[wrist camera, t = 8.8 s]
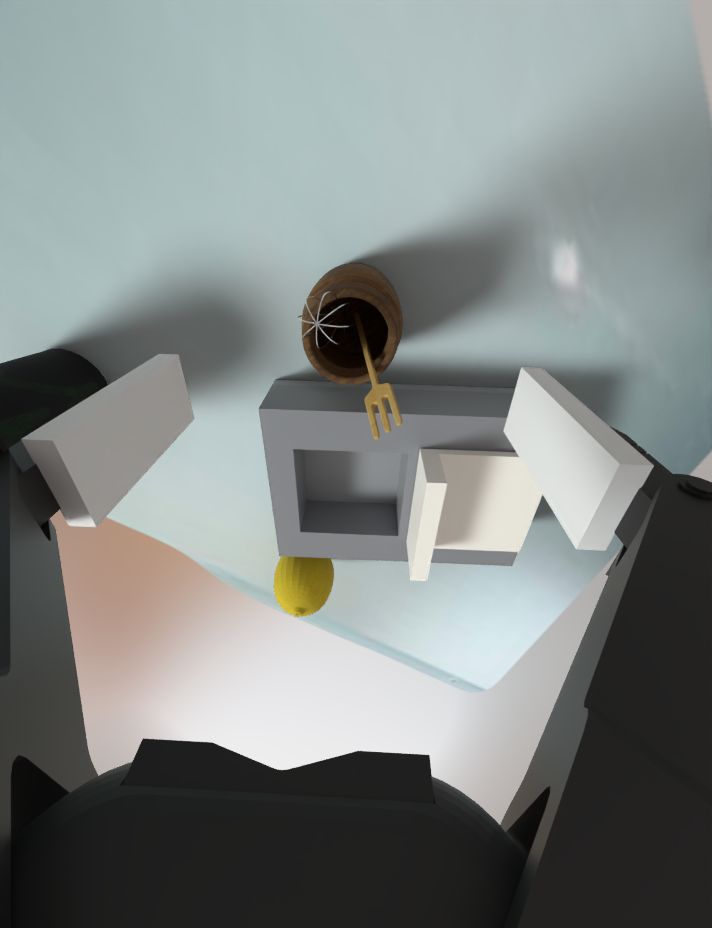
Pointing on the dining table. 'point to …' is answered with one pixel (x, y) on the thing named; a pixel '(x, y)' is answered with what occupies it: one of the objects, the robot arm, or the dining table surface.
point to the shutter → (468, 504)
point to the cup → (42, 390)
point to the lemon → (303, 584)
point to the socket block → (367, 463)
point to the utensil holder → (355, 333)
